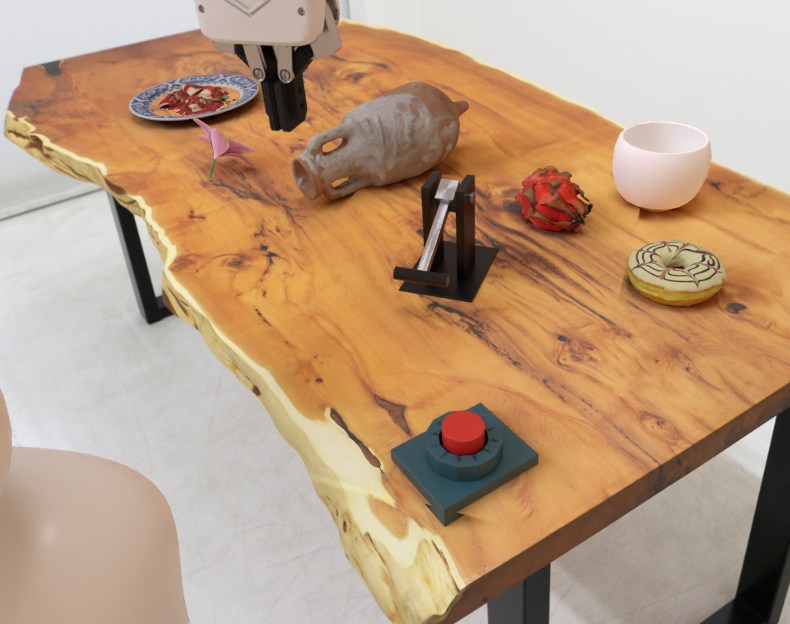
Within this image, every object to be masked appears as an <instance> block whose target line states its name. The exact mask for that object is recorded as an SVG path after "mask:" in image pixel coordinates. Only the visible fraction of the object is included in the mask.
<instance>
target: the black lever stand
mask: <svg viewBox="0 0 790 624" xmlns="http://www.w3.org/2000/svg"><path fill="white" fill-rule="evenodd" d="M441 179H443V178H442V171H438V170H433V171H432V173H430V175H429V176H428V178H426V180H425V181H424V183H423V184H422V185H421V187H420V198H421V215H422V217H421V218H422V219H421V220H422V233H423V234H422V238H423V249H424V248H425V245H426V242H427V239H428V236H429V233H430V230H431V228H432V225H433V222H434V219H435V216H436V213H437V210H438V209H437V205H436V202H435V198H434V197H435V195H436V192H437V189H438V186H439V183H440V180H441ZM476 198H477V197H476V175H475V174H468V173H467V174H466V175H465V176H464V177H463V179H462V180H461V182H460V185H459V187H458V188H457V189H456V191H455V207H456V213H455V241H447V240H444V238H445V236H444V231H443V232H442V235H441V238H440V241H439V244H438V247H437V250H436V253H435V256H434V259H433V262H432V265H431V268H430V271H431V272H437V273H444V274H449V276H450V281H449V285H448V287H447V288H446V287H439V286H433V285H427V284H421V283H414V282H408V281H402V284H401V285H400V287H399V288H398V292H405V293H410V294H416V295H421V296H429V297H434V298H440V299H447V300H453V301H458V302H464V303H469V304H470V303H471V304H472V303H473V302H474V300H475V298H476V296H477V294H478V292H479V290H480V288H481V286H482V284H483V283H484V280H485V279H486V276H487V274H488V272H489V271H490V268H491V267H492V265H493V262H494V261H495V259H496V257H497V254H498V253H499V250H500V248H499V247H492V246H485V245H477V244H476ZM422 254H423V252H422ZM422 254H420V256H419V257H418V259H417V260H416V262H415V264H414V265H413V267H412V268H411V269H418V266H419V263H420V260H421V257H422Z"/></svg>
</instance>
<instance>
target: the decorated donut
mask: <svg viewBox="0 0 790 624" xmlns="http://www.w3.org/2000/svg"><path fill="white" fill-rule="evenodd" d="M626 273H627V275H628V280H629V283H630V284H631V285H632V286H633V288H634V289H635V290H636V291H637V292H638V293H639V295H641V296H643V297H644V298H647V299H650V300H651V301H653V302H656V303H659V304H660V305H661V304H662V305H664V306H665V305H666V306H667V305H668V306H674V307H690V306H693V305H698V304H700V303H704V302H707V301H708V300H710V299H711V298H713V296H715V294H717V293H718V292H719V291H720V290H721V288H722V287H723V284H724V282H725V280H726V279H727V277H728V276H727V270H726V267H725V265H724V264H723V262H722V260H721V259H720V258H718V257H717V256H716V255H715V254H714V253H713V252H711V251H709V250H708V249H706V248H704V247H702V246H700V245H697V244H695V243H691V242H687V241H683V240H680V239H679V240H678V239H671V240H662V241H661V240H660V241H657V242H651V243H647V244H644V245H642V246H640V247H638V248H637V249H635V250H634V251H633V252H632V254H631V255H630V256H629V258H628V262H627V265H626Z"/></svg>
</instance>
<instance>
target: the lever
mask: <svg viewBox="0 0 790 624" xmlns="http://www.w3.org/2000/svg"><path fill="white" fill-rule="evenodd" d="M460 184H461V182H460V180H458V179H450V178H442V179H441V180H440V183H439V186H438V189H437V192H436V195H435V197H434V198H435V202H436V205H437V209H438V210H437V213H436V216H435V219H434V222H433V225H432V228H431V230H430V233H429V236H428V239H427V242H426V245H425V248H424V247H423V252H422V253H423V254H421V255H422V257H421V260H420V263H419V266H418V269H412V268H411V267H405V266H394V268H393V272H392V279H393V280H396V281H401V282H404V281H408V282H414V283H421V284H427V285H433V286H439V287H446V288H447V287H448V285H449V281H450V276H449V274H444V273H437V272H431V271H430V268H431V265H432V262H433V259H434V256H435V253H436V250H437V247H438V244H439V241H440V238H441V235H442V232H443V233H444V230H445V226H446V224H447V220H448V216H449V214H450V213H455V214H456V207H455V191H456V189H457V188H458V187H459V185H460Z"/></svg>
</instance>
